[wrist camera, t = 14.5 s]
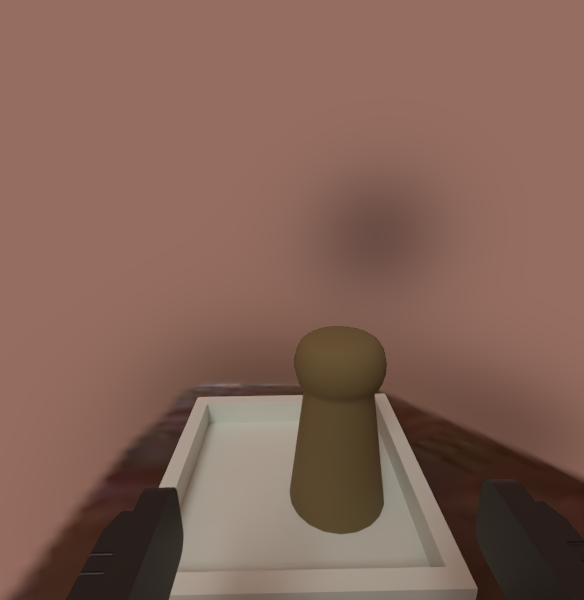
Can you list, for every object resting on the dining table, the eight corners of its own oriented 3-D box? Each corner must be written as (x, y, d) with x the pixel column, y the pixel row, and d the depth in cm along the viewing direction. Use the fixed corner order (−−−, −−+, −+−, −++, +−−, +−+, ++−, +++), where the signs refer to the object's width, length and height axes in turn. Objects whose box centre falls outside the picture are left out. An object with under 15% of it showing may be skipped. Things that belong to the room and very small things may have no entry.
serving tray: (383, 418, 32) (384, 393, 31) (470, 628, 17) (477, 588, 16) (200, 422, 32) (198, 397, 31) (120, 636, 17) (112, 596, 16)
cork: (340, 447, 28) (344, 309, 24) (405, 501, 23) (420, 338, 20) (271, 483, 24) (266, 329, 21) (330, 554, 20) (334, 369, 16)
